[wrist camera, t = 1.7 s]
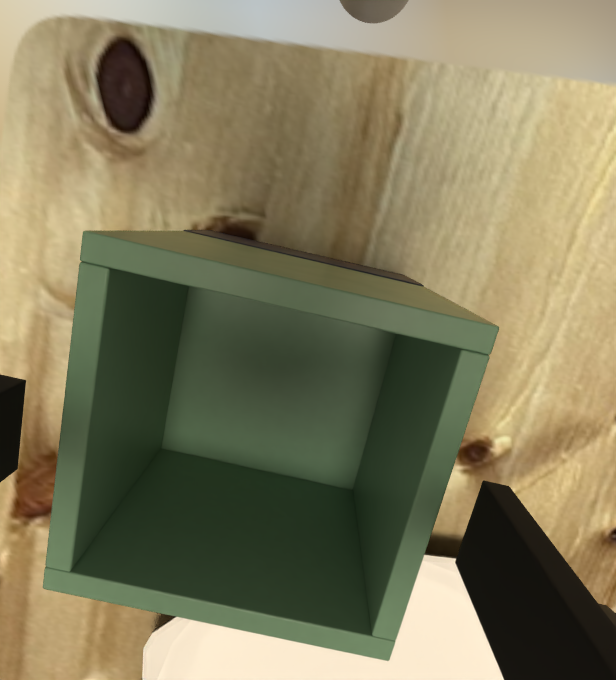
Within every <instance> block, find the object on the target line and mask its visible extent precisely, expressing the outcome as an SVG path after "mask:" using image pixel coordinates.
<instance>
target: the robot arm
mask: <svg viewBox="0 0 616 680" xmlns="http://www.w3.org/2000/svg"><path fill="white" fill-rule="evenodd" d="M25 384H26V380H22V379H18V378H13V377H9V376H4V375H0V482H1V481H3V480H4V479H5V478H6V477H8V476H9V475H10V474H12V473H13V472H14V471H15V470H17V469H18V458H19V448H20V437H21V426H22V416H23V405H24V395H25ZM455 564H456V566H457V568H458V571H459V573H460V576H461V578H462V580H463V583H464V585H465V587H466V590H467V592H468V595H469V597H470V599H471V602H472V604H473V607H474V609H475V611H476V614H477V616H478V619H479V621H480V623H481V626H482V628H483V631H484V633H485V635H486V638H487V640H488V643H489V645H490V647H491V650H492V652H493V655H494V657H495V659H496V662H497V664H498V666H499V669H500V671H501V674H502V676H503V678H504V680H616V613H615V612H613V611H612V610H611V609H610V608H609V607H608V606H606V605H602V604H598V603H597V602H596V600H595V599H594V598H593V596H592V595H591V594H590V592H589V591H588V590H587V588H586V587H585V586H584V584H583V583H582V582H581V580H580V579H579V578H578V577H577V575H576V574H575V573H574V571H573V570H572V569H571V567H570V566H569V565H568V563H567V562H566V561H565V559H564V558H563V557H562V555H561V554H560V553H559V551H558V550H557V549H556V548H555V546H554V545H553V544H552V542H551V541H550V540H549V538H548V537H547V536H546V534H545V533H544V532H543V530H542V529H541V528H540V526H539V525H538V524H537V522H536V521H535V520H534V519H533V517H532V516H531V515H530V513H529V512H528V511H527V509H526V508H525V507H524V505H523V504H522V503H521V501H520V500H519V499H518V497H517V496H516V495H515V493H514V492H513V491H512V490H511V488H510V487H509V486H506V485H501V484H496V483H492V482H487V481H483V482H482V485H481V488H480V491H479V494H478V497H477V500H476V503H475V506H474V509H473V512H472V514H471V517H470V520H469V523H468V526H467V529H466V532H465V535H464V538H463V541H462V544H461V547H460V549H459V552H458V555H457V558H456V561H455Z"/></svg>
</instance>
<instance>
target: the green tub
mask: <svg viewBox="0 0 616 680" xmlns="http://www.w3.org/2000/svg"><path fill="white" fill-rule="evenodd" d="M80 260H81V261H82V262H81V263H80V265H79V274H78V283H77V292H76V301H75V309H74V318H73V327H72V336H71V345H70V354H69V362H68V371H67V380H66V389H65V398H64V406H63V415H62V424H61V433H60V442H59V450H58V459H57V468H56V477H55V486H54V494H53V503H52V512H51V521H50V530H49V538H48V547H47V556H46V567H45V572H44V581H43V589H47V590H51V591H56V592H61V593H66V594H70V595H75V596H80V597H85V598H90V599H94V600H99V601H104V602H109V603H113V604H118V605H123V606H128V607H132V608H137V609H142V610H147V611H151V612H156V613H161V614H166V615H170V616H175V617H180V618H185V619H189V620H194V621H199V622H204V623H208V624H213V625H218V626H223V627H228V628H232V629H237V630H242V631H247V632H251V633H256V634H261V635H266V636H270V637H275V638H280V639H285V640H289V641H294V642H299V643H304V644H308V645H313V646H318V647H323V648H327V649H332V650H337V651H342V652H346V653H351V654H356V655H361V656H365V657H370V658H375V659H380V660H385V661H389V660H390V657H391V654H392V651H393V648H394V645H395V640H396V639H397V636H398V633H399V630H400V627H401V624H402V621H403V618H404V615H405V612H406V609H407V605H408V602H409V599H410V596H411V593H412V590H413V587H414V584H415V581H416V578H417V575H418V572H419V569H420V566H421V563H422V560H423V557H424V554H425V551H426V548H427V545H428V542H429V539H430V536H431V533H432V530H433V527H434V524H435V521H436V518H437V515H438V512H439V509H440V506H441V503H442V500H443V496H444V493H445V490H446V487H447V484H448V481H449V478H450V475H451V472H452V469H453V466H454V463H455V460H456V457H457V454H458V451H459V448H460V445H461V442H462V439H463V436H464V433H465V430H466V427H467V424H468V421H469V418H470V415H471V412H472V409H473V406H474V403H475V400H476V397H477V394H478V390H479V387H480V384H481V381H482V378H483V375H484V372H485V369H486V366H487V363H488V360H489V355H490V354H491V351H492V348H493V345H494V342H495V339H496V336H497V333H498V330H499V327H498V326H497V325H495V324H493V323H491V322H489V321H487V320H485V319H483V318H481V317H480V316H478V315H476V314H474V313H472V312H470V311H468V310H466V309H465V308H463V307H461V306H459V305H457V304H455V303H453V302H451V301H450V300H448V299H446V298H444V297H442V296H440V295H438V294H436V293H435V292H433V291H431V290H429V289H427V288H425V287H423V286H418V285H414V284H410V283H405V282H401V281H397V280H393V279H388V278H384V277H380V276H375V275H371V274H367V273H362V272H358V271H354V270H350V269H345V268H341V267H337V266H332V265H328V264H324V263H320V262H315V261H311V260H307V259H302V258H298V257H294V256H289V255H285V254H281V253H277V252H272V251H268V250H264V249H259V248H255V247H251V246H246V245H242V244H238V243H234V242H229V241H225V240H221V239H216V238H212V237H208V236H204V235H199V234H195V233H191V232H186V231H84V232H83V237H82V246H81V255H80Z"/></svg>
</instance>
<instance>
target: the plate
mask: <svg viewBox="0 0 616 680" xmlns="http://www.w3.org/2000/svg"><path fill="white" fill-rule="evenodd" d="M456 558H457V557H453V556H445V555H436V554H428V553H425V554H424V557H423V560H422V563H421V566H420V569H419V572H418V575H417V578H416V581H415V584H414V587H413V590H412V593H411V596H410V599H409V602H408V605H407V609H406V612H405V615H404V618H403V621H402V624H401V627H400V630H399V633H398V636H397V639H396V640H395V645H394V648H393V651H392V654H391V657H390V660H389V661H385V660H380V659H375V658H370V657H365V656H361V655H356V654H351V653H346V652H342V651H337V650H332V649H327V648H323V647H318V646H313V645H308V644H304V643H299V642H294V641H289V640H285V639H280V638H275V637H270V636H266V635H261V634H256V633H251V632H247V631H242V630H237V629H232V628H228V627H223V626H218V625H213V624H208V623H204V622H199V621H194V620H189V619H185V618H180V617H173V618H172V619H170V620H169V621H167V622H166V623H164V624H163V625H161V626H160V627H159V628H157V629H156V630H154V631H153V632H152V634H151V636H150V638H149V639H148V641H147V643H146V644H145V646H144V648H143V673H142V680H504V678H503V676H502V674H501V671H500V669H499V666H498V664H497V662H496V659H495V657H494V655H493V652H492V650H491V647H490V645H489V643H488V640H487V638H486V635H485V633H484V631H483V628H482V626H481V623H480V621H479V619H478V616H477V614H476V611H475V609H474V607H473V604H472V602H471V599H470V597H469V595H468V592H467V590H466V587H465V585H464V583H463V580H462V578H461V576H460V573H459V571H458V568H457V566H456V564H455V561H456Z"/></svg>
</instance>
